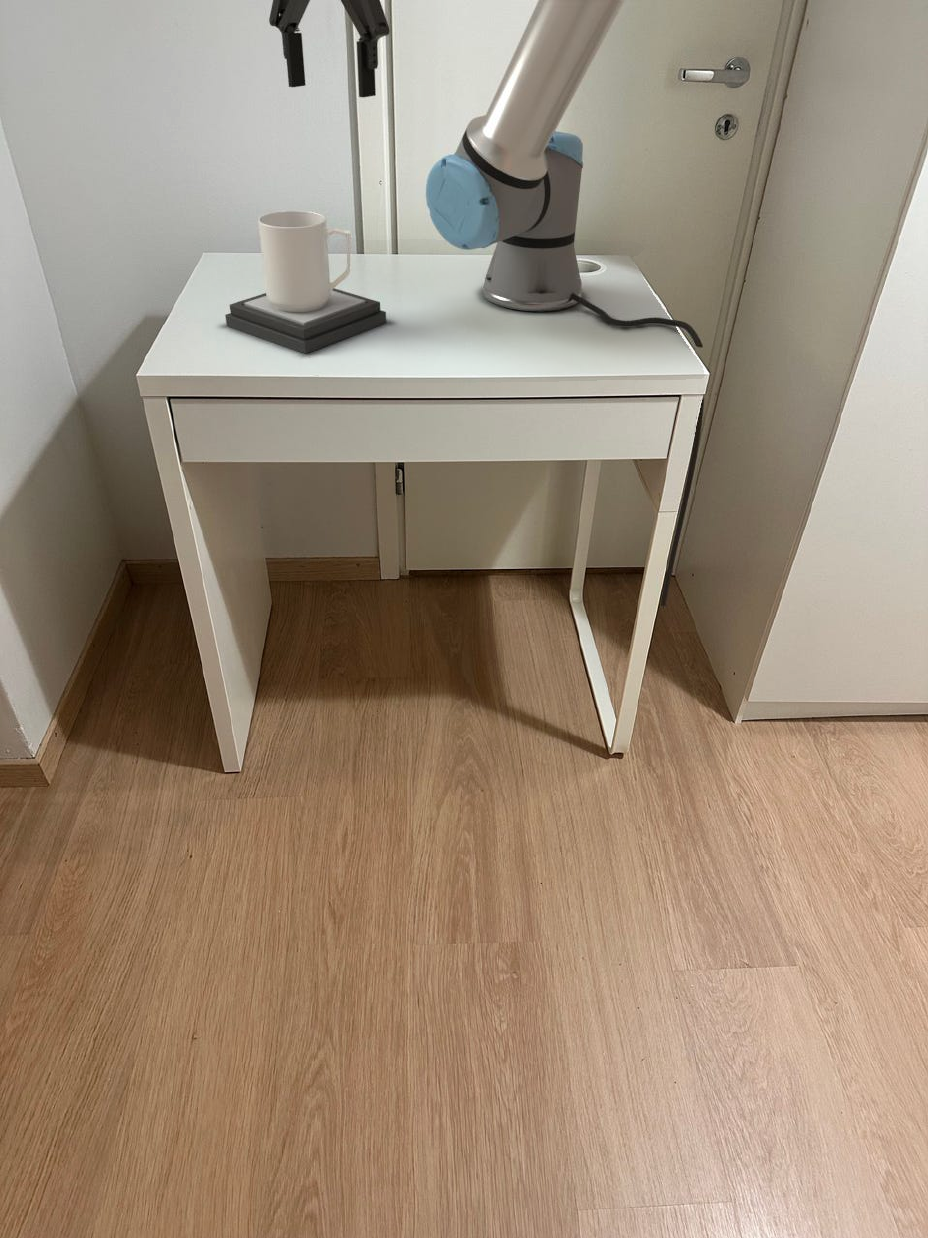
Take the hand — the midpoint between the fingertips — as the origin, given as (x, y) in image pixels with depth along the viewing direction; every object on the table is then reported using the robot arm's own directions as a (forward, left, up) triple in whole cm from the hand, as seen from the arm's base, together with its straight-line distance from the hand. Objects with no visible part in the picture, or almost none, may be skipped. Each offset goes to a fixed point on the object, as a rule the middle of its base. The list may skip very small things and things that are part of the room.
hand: (331, 91), depth 126 cm
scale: (-11, +19, -26) cm, 34 cm away
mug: (-12, +19, -23) cm, 32 cm away
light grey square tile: (-11, +18, -24) cm, 32 cm away
